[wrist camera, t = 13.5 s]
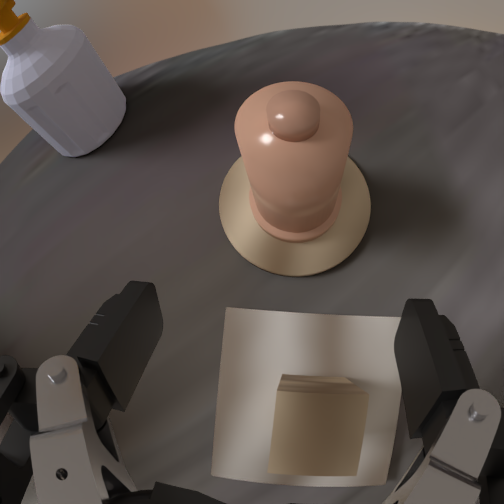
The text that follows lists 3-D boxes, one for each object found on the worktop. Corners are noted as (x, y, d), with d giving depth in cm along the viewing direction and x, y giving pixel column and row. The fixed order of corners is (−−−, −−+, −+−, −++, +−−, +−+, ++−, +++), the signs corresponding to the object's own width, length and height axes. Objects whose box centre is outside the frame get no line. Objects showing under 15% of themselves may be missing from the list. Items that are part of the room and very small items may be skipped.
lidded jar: (246, 240, 23) (212, 167, 13) (255, 160, 24) (231, 64, 15) (340, 245, 22) (370, 173, 12) (339, 163, 23) (357, 66, 14)
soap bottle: (67, 103, 31) (-46, -39, 7) (134, 81, 30) (31, -100, 6) (48, 167, 28) (-109, 23, 5) (120, 147, 27) (-39, -59, 4)
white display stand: (214, 470, 19) (177, 522, 11) (229, 308, 22) (195, 291, 14) (381, 479, 17) (416, 532, 10) (402, 318, 20) (454, 305, 13)
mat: (211, 271, 23) (209, 269, 22) (230, 139, 26) (228, 135, 25) (369, 281, 21) (371, 279, 21) (365, 144, 24) (366, 140, 24)
